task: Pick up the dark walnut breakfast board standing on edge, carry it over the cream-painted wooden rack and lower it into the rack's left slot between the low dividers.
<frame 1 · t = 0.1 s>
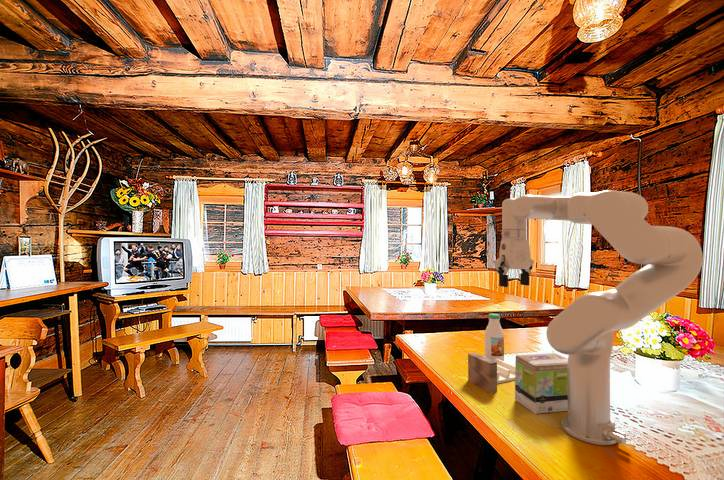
hand: (514, 285, 112), 37 cm above the table, tool pointing down, fingers open, 9 cm apart
walnut board: (482, 385, 118), on the table
tea box: (545, 405, 104), on the table
rack: (496, 373, 129), on the table
milk bottle: (494, 360, 144), on the table
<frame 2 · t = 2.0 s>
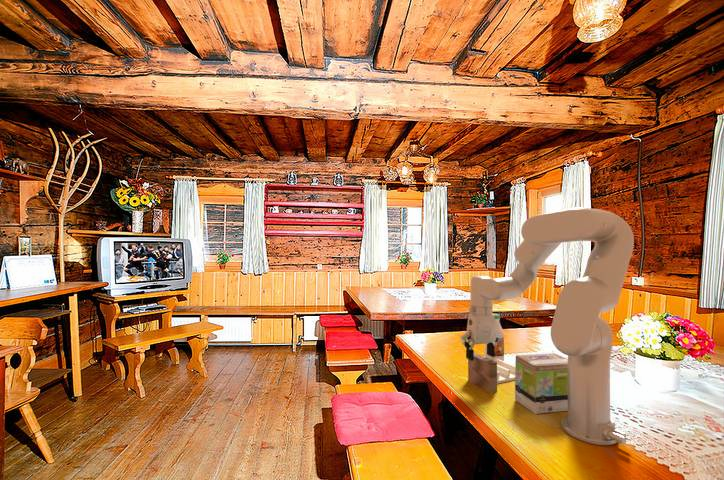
hand: (480, 357, 119), 10 cm above the table, tool pointing down, fingers open, 9 cm apart
nothing on the table moved.
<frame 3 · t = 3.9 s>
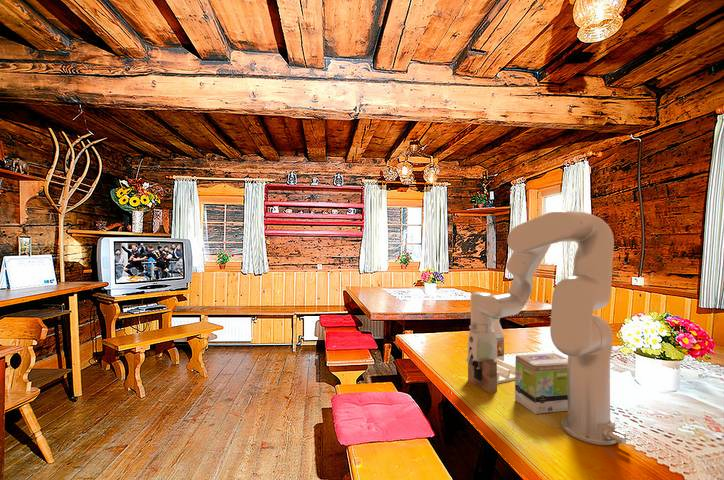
hand: (481, 377, 118), 3 cm above the table, tool pointing down, fingers closed on walnut board, 3 cm apart
walnut board: (481, 385, 118), on the table, touching gripper
everything else where it was.
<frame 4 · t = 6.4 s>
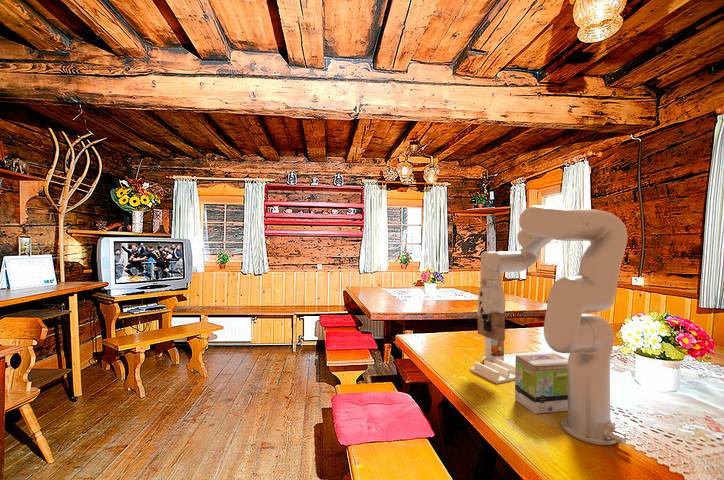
hand: (490, 330, 128), 17 cm above the table, tool pointing down, fingers closed on walnut board, 3 cm apart
walnut board: (490, 337, 128), point 15 cm above the table, touching gripper
everything else where it was.
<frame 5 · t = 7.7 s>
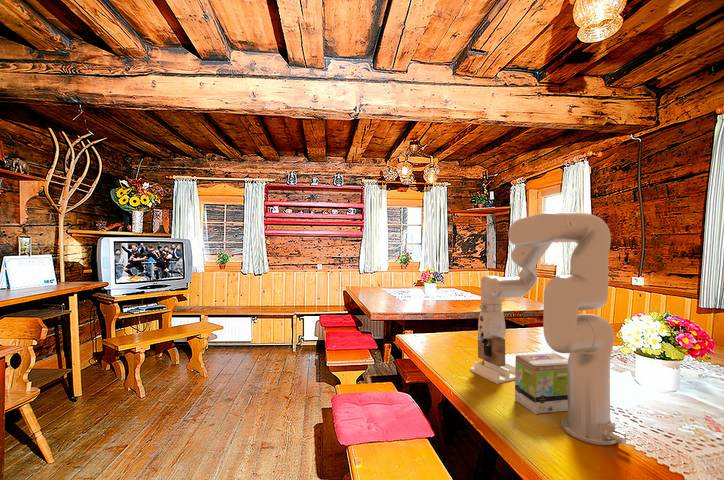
hand: (491, 354, 128), 8 cm above the table, tool pointing down, fingers closed on walnut board, 3 cm apart
walnut board: (491, 361, 128), point 5 cm above the table, touching gripper
everything else where it was.
when the fingers open (5 cm above the table, at t = 8.9 s): walnut board drops 1 cm, resting on rack.
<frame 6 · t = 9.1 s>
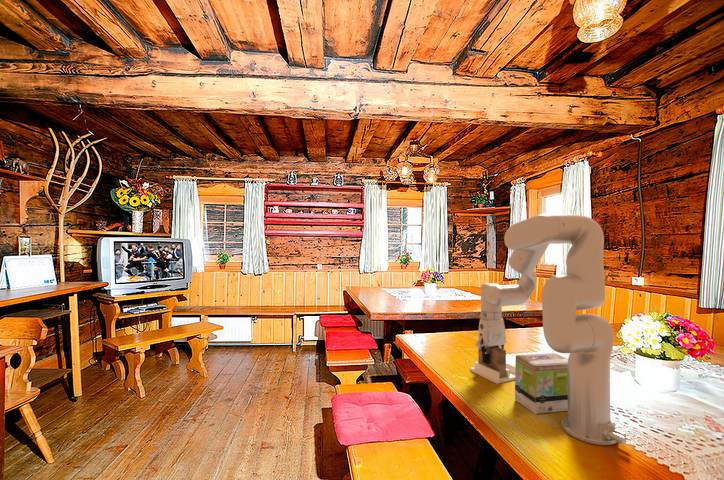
hand: (491, 361, 128), 5 cm above the table, tool pointing down, fingers open, 4 cm apart
walnut board: (491, 372, 128), point 1 cm above the table, touching rack
everything else where it was.
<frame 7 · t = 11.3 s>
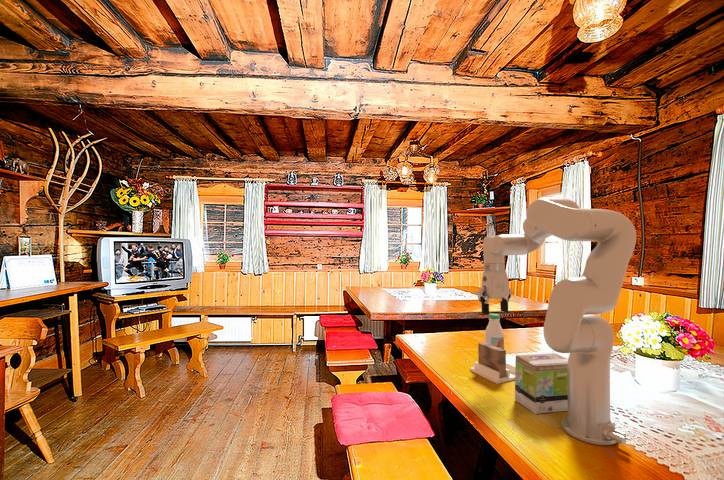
hand: (495, 312, 127), 24 cm above the table, tool pointing down, fingers open, 9 cm apart
nothing on the table moved.
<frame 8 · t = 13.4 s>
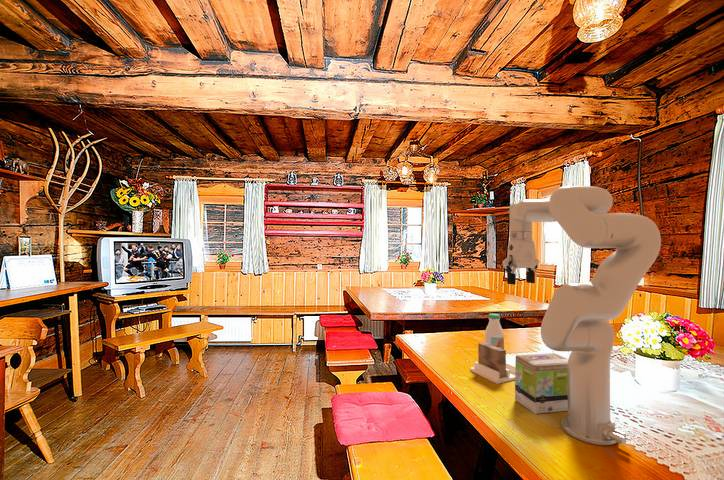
hand: (521, 283, 121), 36 cm above the table, tool pointing down, fingers open, 9 cm apart
nothing on the table moved.
at the end: walnut board 0.1 cm from the target spot on the rack, point 1.0 cm above the rack's base; walnut board tilted 0°; the gripper is holding nothing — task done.
